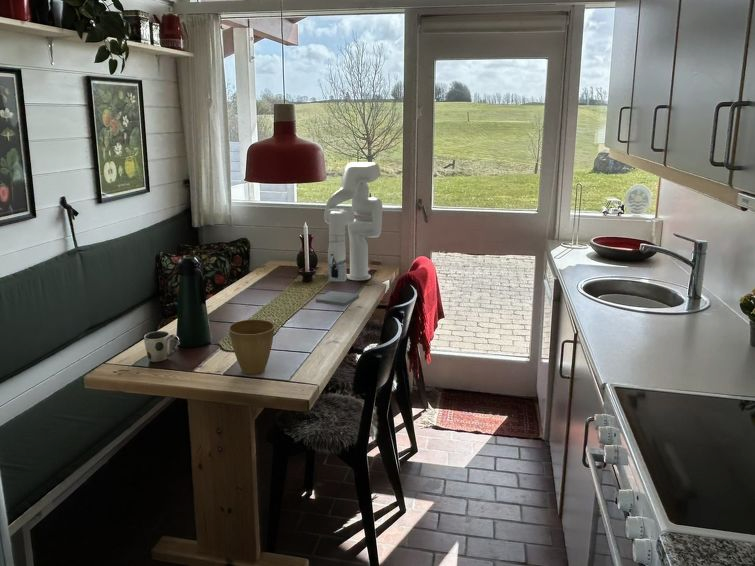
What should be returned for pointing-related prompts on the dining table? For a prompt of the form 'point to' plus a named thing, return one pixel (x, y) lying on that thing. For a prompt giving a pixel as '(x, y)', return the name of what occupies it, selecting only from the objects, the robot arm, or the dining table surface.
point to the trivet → (337, 298)
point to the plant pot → (252, 344)
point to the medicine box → (339, 272)
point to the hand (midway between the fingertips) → (337, 275)
